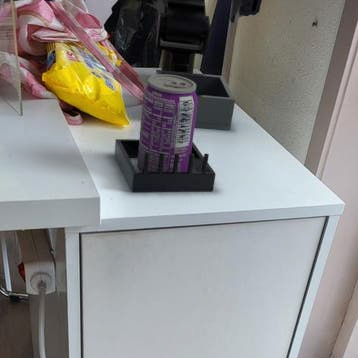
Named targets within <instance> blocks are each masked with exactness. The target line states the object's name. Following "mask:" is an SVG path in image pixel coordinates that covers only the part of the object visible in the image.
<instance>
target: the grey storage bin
mask: <svg viewBox="0 0 358 358" xmlns="http://www.w3.org/2000/svg"><path fill="white" fill-rule="evenodd" d="M160 74H167V75H176V76H181V77H184V78H187V79H189V80H191V81H193V82H194V83H195V84H196V90H195V92H196V95H197V99H198V105H197V112H196V120H195V127H194V128H197V129H200V128H201V129H210V130H211V129H212V130H221V131H222V130H223V131H224V130H225V131H230V130H231V127H232V122H233V116H234V110H235V103H236V99H235V97H234V95H233V92H232V91H231V89H230V87H229V85H228V82H227V81H226V79H225V77H224V76H223V75H215V74H206V73H196V72H195V73H194V72H193V73H184V72H174V71H163V70H161V69H155V74H154V75H160Z"/></svg>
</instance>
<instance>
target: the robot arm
mask: <svg viewBox="0 0 358 358" xmlns="http://www.w3.org/2000/svg"><path fill="white" fill-rule="evenodd" d="M262 1H263V0H231V4H230V5H231V7H230V13H229V21H230V23H232V24H235V23H236V22H237V21H238V19H241V18H242V17H250V16H256V15H257V14H258V13H260V10H261V5H262ZM135 2H140V3H142V4H145V5H148V6H150V7H152V8H154V9H155V10H157V11H158V12H159V13H158V20H157V28H156V38H155V47H156V50H157V51H160V50H161V51H162V57H161V58H162V61H161V69H160V70H163V71H174V72H184V73H194V69H195V68H194V67H195V61H196V55H200V56H204V55H205V54H207V53H208V48H209V47H208V46H209V40H210V36H211V33H212V28H213V27H212V25H211V23H210V16H209V15H207V10H206V9H207V8H206V0H135Z"/></svg>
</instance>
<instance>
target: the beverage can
mask: <svg viewBox="0 0 358 358" xmlns="http://www.w3.org/2000/svg"><path fill="white" fill-rule="evenodd" d="M195 90H196V84H195V83H194V82H193V81H191V80H189V79H187V78H184V77H181V76H176V75H167V74H160V75H155V74H153V75H151V76H149V77H148V78H147V86H146V87H145V89H144V91H143V93H142V104H141V114H140V115H141V116H140V127H139V138H138V139H139V151H138V158H137V163H136V164H137V169H138V170H139V172H143V164H144V154H145V153H148V154H149V161H148V172H158V166H159V156H160V153H163V154H164V163H163V172H173V165H174V156H175V153H178V154H179V162H178V170H177V172H187V170H188V163H189V155H190V153H191V150H192V142H193V143H194V135H195V128H196V127H195V120H196V112H197V105H198V99H197V95H196V92H195Z"/></svg>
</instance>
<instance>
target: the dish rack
mask: <svg viewBox="0 0 358 358" xmlns="http://www.w3.org/2000/svg"><path fill="white" fill-rule="evenodd" d="M139 139H140V138H138V139H137V138H135V139H133V138H127V139H126V138H116V139H115V143H114V158H115V160H116V162H117V164H118V166H119V168H120V170H121V172H122V175H123V177H124V178H125V181H126V183H127V185H128V187H129V189H130V190H131V192H132V193H171V192H172V193H173V192H175V193H179V192H180V193H181V192H186V193H187V192H213V191H214V187H215V181H216V175H217V174H216V172H215V170H214V169H213V168H212V166H211V165H210V164H209V157H210V154H209V153H204V154H202V152H201V151H200V150H199V148H198V146H197V145H196V144H195V143H194V141H193V142H192V150H191V153H190V155H189V163H188V170H187V172H177V170H178V162H179V154H178V153H175V156H174V165H173V172H163V163H164V154H163V153H160V156H159V166H158V172H148V161H149V154H148V153H145V154H144V164H143V172H141V171H137V169H136V168H135V166H134V163H133V162H132V160H131V159H138V151H139ZM193 170H194V171H193Z"/></svg>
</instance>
